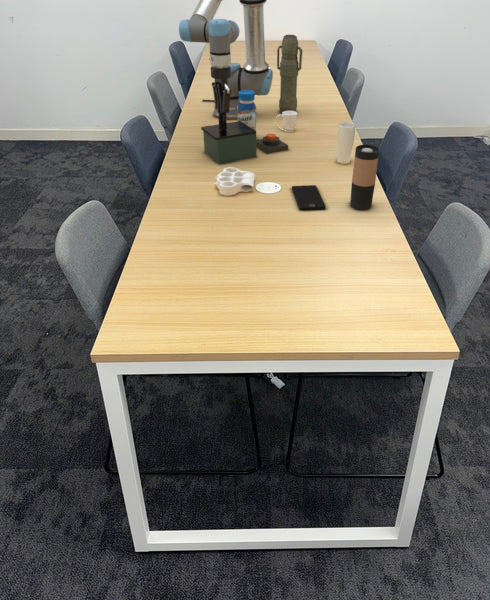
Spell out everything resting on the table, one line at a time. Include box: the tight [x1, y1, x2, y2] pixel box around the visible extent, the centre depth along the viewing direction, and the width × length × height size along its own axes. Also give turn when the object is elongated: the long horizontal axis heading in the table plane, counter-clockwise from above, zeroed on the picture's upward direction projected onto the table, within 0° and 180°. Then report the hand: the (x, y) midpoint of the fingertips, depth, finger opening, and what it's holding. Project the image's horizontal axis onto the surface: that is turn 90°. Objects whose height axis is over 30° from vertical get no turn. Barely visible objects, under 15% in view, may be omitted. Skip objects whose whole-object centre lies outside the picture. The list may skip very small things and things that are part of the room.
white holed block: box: [213, 166, 256, 197], centre depth 199 cm, size 3×18×15 cm
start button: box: [265, 133, 277, 140], centre depth 230 cm, size 4×4×2 cm
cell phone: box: [291, 184, 327, 211], centre depth 191 cm, size 9×18×1 cm, turn 7°
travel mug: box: [349, 144, 380, 211], centre depth 181 cm, size 8×8×20 cm
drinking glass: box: [336, 121, 356, 165], centre depth 216 cm, size 7×7×15 cm
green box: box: [202, 130, 257, 165], centre depth 222 cm, size 17×15×10 cm
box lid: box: [200, 120, 257, 140], centre depth 219 cm, size 18×15×1 cm
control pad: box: [256, 135, 289, 155], centre depth 231 cm, size 12×10×4 cm
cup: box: [274, 111, 299, 133], centre depth 249 cm, size 7×10×8 cm
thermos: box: [276, 34, 304, 114], centre depth 264 cm, size 9×12×35 cm
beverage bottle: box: [237, 90, 258, 132], centre depth 236 cm, size 8×8×20 cm
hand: (222, 129), depth 218 cm, fingers closed
